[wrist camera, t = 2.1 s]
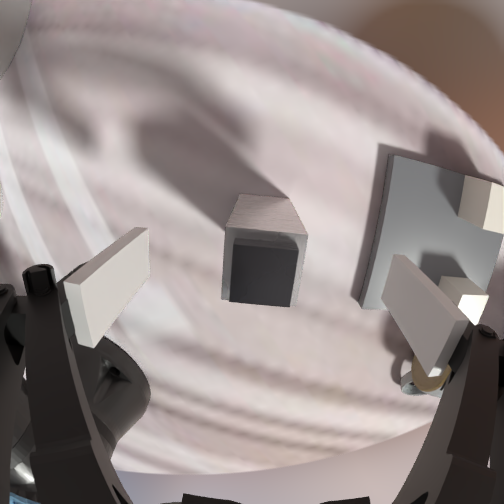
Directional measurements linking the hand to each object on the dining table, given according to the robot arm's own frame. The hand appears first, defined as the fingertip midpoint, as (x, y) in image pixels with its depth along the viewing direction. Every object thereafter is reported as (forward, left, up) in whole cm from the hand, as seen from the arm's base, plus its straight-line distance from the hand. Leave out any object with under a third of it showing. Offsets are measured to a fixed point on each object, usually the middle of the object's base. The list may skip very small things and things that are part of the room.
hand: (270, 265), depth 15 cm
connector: (0, 0, -10) cm, 10 cm away
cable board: (+18, 0, -10) cm, 20 cm away
